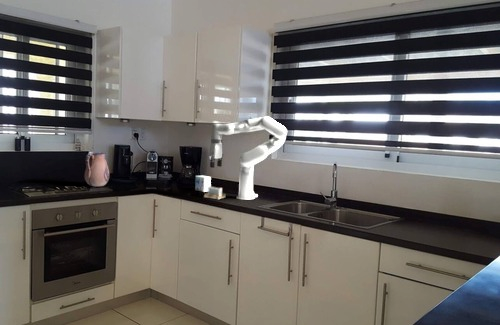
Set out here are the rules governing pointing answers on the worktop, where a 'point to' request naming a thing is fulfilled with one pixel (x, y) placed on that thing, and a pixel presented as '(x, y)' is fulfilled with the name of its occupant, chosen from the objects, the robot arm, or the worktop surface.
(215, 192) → the frame slab
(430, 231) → the worktop surface
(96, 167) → the ceramic pitcher
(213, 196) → the oak board
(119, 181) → the worktop surface
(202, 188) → the light bulb box
